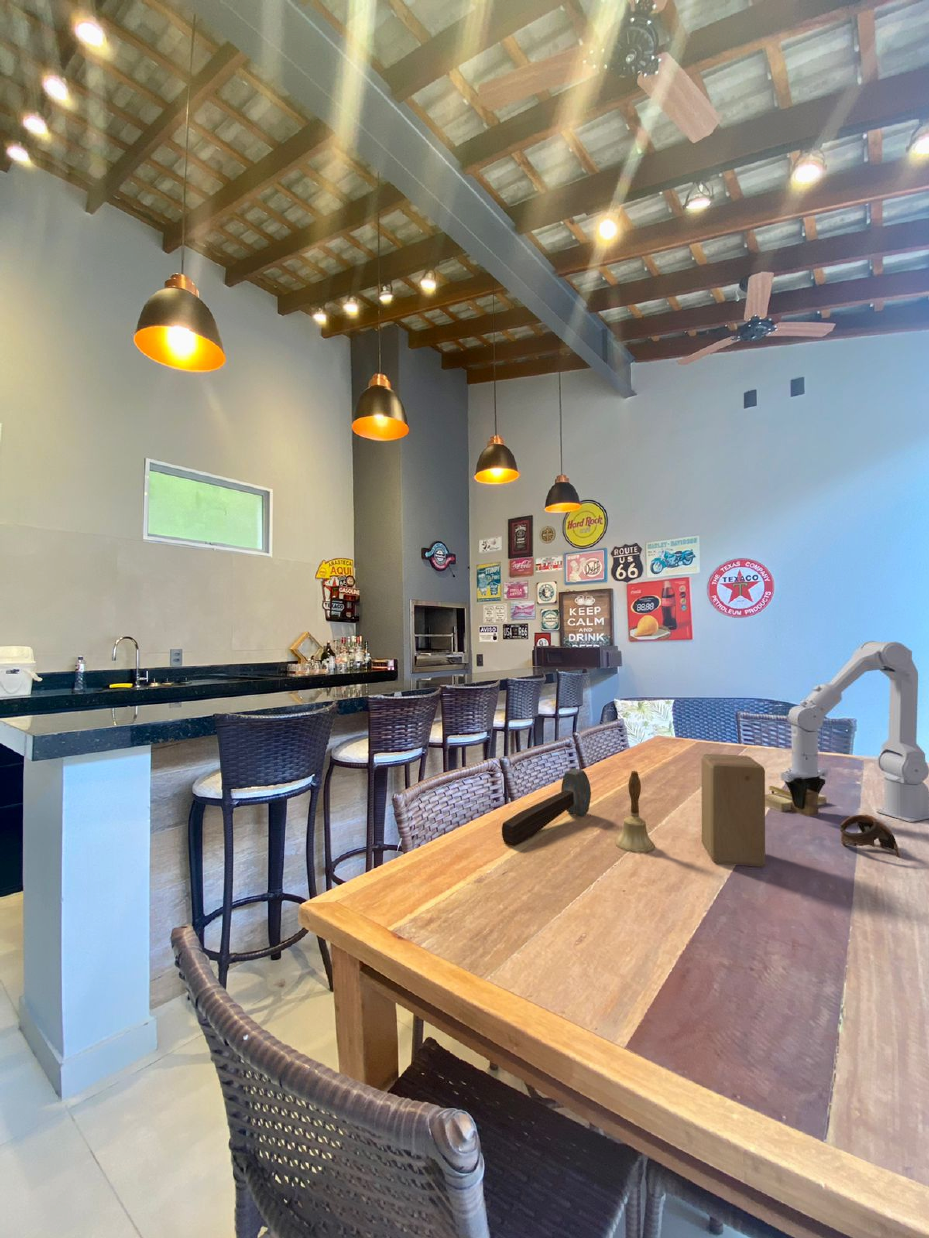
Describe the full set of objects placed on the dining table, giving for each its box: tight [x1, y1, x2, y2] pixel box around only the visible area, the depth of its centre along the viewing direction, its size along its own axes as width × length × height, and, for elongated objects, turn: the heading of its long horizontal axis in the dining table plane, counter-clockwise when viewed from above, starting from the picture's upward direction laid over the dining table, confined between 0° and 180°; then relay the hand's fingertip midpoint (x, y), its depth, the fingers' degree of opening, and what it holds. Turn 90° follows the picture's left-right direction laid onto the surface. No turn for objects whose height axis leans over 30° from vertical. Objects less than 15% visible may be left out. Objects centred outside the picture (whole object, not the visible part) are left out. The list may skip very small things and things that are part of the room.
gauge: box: [768, 785, 819, 817], centre depth 140 cm, size 4×12×6 cm, turn 22°
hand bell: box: [614, 770, 656, 853], centre depth 117 cm, size 8×8×16 cm
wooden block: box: [701, 753, 766, 868], centre depth 111 cm, size 10×10×20 cm
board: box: [765, 792, 827, 813], centre depth 144 cm, size 17×7×2 cm, turn 112°
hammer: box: [501, 768, 592, 847], centre depth 127 cm, size 5×11×30 cm
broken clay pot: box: [839, 814, 901, 858], centre depth 115 cm, size 12×10×8 cm
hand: (804, 806), depth 137 cm, fingers closed on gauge, 3 cm apart
